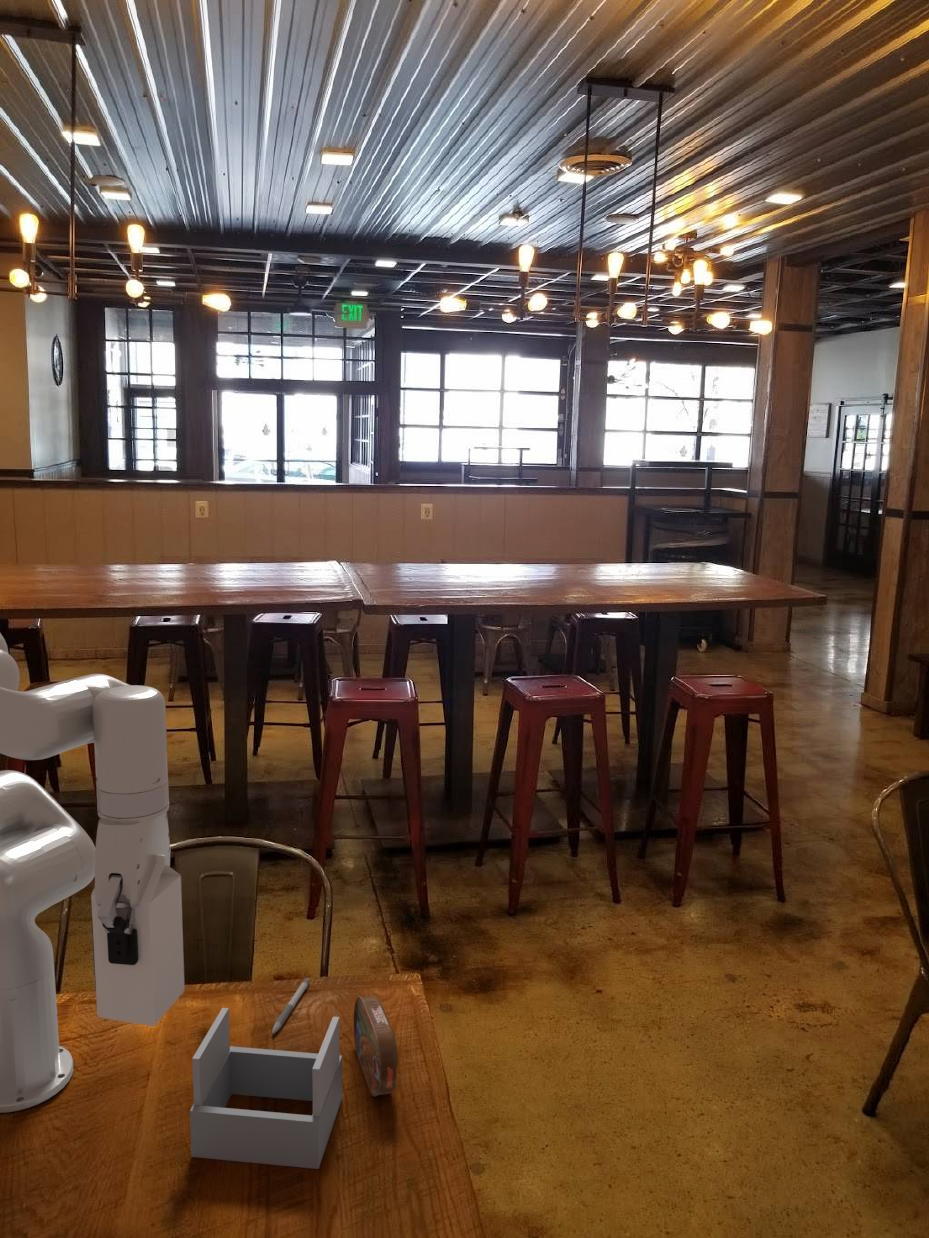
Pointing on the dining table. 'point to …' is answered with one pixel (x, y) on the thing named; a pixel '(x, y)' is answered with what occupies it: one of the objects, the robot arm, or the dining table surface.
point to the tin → (375, 1045)
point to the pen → (290, 1006)
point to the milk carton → (144, 954)
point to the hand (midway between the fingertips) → (139, 942)
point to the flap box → (263, 1076)
